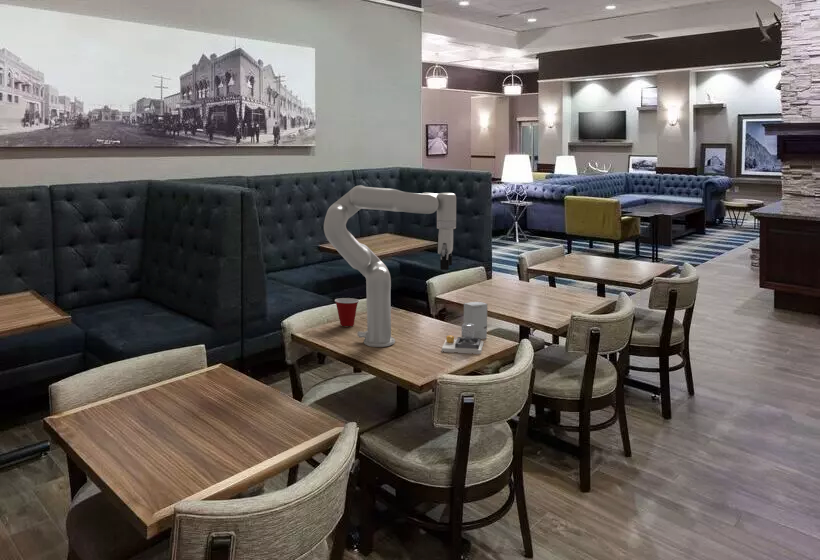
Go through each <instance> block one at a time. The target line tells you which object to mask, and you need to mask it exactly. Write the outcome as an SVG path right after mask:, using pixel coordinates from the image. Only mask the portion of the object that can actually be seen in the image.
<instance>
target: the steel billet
mask: <svg viewBox="0 0 820 560" xmlns="http://www.w3.org/2000/svg"><path fill="white" fill-rule="evenodd" d="M474 330H475V325H474V324H471V323H464V322H463V323H462V324H461V337H462V339H461V343H463V344H474Z"/></svg>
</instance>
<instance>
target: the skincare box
mask: <svg viewBox="0 0 820 560" xmlns="http://www.w3.org/2000/svg"><path fill="white" fill-rule="evenodd" d="M464 323H471V324H474V325H475V330H474V338H481V340H484V339H487V335H488V334H487V333H488V331H487V329H488V303H485V302H483V301H471V302H464V303H463V324H464Z"/></svg>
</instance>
